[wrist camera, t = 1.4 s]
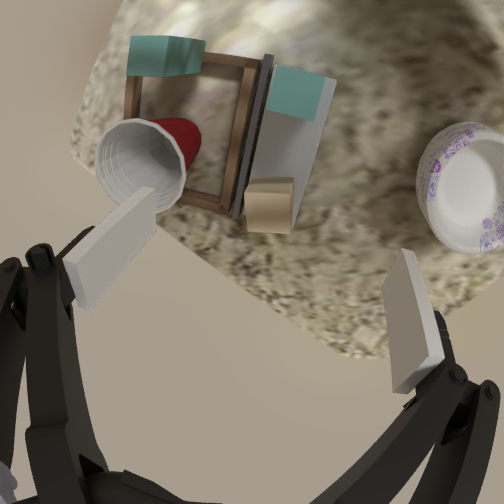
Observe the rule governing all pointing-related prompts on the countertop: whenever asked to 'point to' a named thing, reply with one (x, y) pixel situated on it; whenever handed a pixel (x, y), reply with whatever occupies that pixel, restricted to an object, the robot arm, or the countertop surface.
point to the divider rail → (252, 133)
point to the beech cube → (270, 204)
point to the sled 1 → (189, 62)
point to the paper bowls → (464, 187)
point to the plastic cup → (146, 158)
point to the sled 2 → (292, 127)
